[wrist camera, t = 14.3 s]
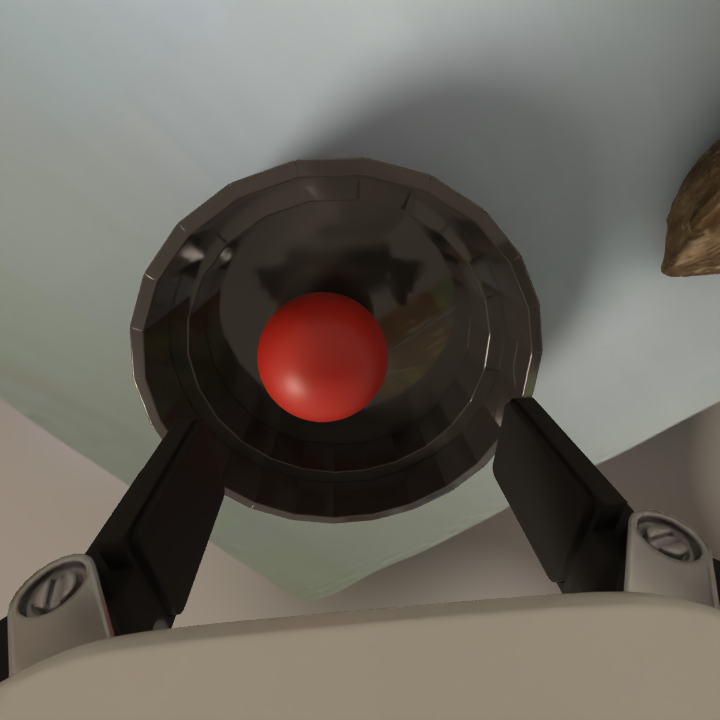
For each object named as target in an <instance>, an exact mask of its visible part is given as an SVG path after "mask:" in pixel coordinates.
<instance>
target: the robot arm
mask: <svg viewBox="0 0 720 720" xmlns="http://www.w3.org/2000/svg"><path fill="white" fill-rule="evenodd" d="M493 473H494V476H495V478H496V480H497V482H498V484H499V486H500V488H501V490H502V492H503V493H504V495H505V497H506V499H507V501H508V503H509V505H510V507H511V508H512V510H513V512H514V514H515V516H516V518H517V520H518V522H519V523H520V525H521V527H522V529H523V531H524V533H525V534H526V537H527V538H528V540H529V542H530V544H531V546H532V548H533V550H534V552H535V553H536V555H537V557H538V559H539V561H540V563H541V564H542V567H543V568H544V570H545V572H546V574H547V576H548V577H549V579H550V580H551V581H552V582H557V584H558V586H559V588H560V590H561V592H562V593H563V594H553V595H538V596H524V597H512V598H499V599H487V600H475V601H463V602H450V603H438V604H428V605H427V604H426V605H415V606H403V607H391V608H381V609H369V610H357V611H346V612H335V613H323V614H312V615H301V616H291V617H279V618H269V619H258V620H247V621H237V622H226V623H216V624H206V625H197V626H188V627H179V628H172V625H173V622H174V619H175V617H176V615H178V614H181V613H182V611H183V610H184V607H185V605H186V602H187V599H188V596H189V594H190V591H191V588H192V585H193V582H194V580H195V577H196V574H197V571H198V568H199V565H200V563H201V560H202V557H203V554H204V551H205V549H206V546H207V543H208V540H209V537H210V534H211V532H212V529H213V526H214V523H215V520H216V517H217V515H218V512H219V509H220V506H221V503H222V501H223V498H224V493H225V486H224V482H223V479H222V476H221V473H220V469H219V466H218V463H217V460H216V456H215V453H214V450H213V447H212V443H211V440H210V437H209V434H208V430H207V427H206V425H205V423H200V421H199V420H198V419H196V418H195V419H180V420H176V421H175V422H174V423H173V425H172V426H171V428H170V429H169V431H168V432H167V434H166V435H165V437H164V438H163V440H162V441H161V443H160V444H159V446H158V447H157V449H156V450H155V452H154V453H153V455H152V456H151V458H150V459H149V461H148V462H147V464H146V465H145V467H144V468H143V469H142V470H141V472H140V473H139V474H138V476H137V477H136V479H135V480H134V482H133V483H132V485H131V486H130V488H129V489H128V491H127V492H126V494H125V495H124V497H123V498H122V500H121V501H120V503H119V504H118V506H117V507H116V509H115V510H114V512H113V513H112V515H111V516H110V518H109V519H108V520H107V522H106V523H105V525H104V527H103V528H102V529H101V531H100V532H99V534H98V535H97V537H96V538H95V540H94V542H93V543H92V544H91V546H90V547H89V549H88V550H87V552H86V553H85V554H72V555H68V556H65V557H61V558H59V559H57V560H55V561H53V562H51V563H49V564H47V565H46V566H44V567H43V568H41V569H40V570H38V571H37V572H36V573H34V574H33V575H32V576H31V577H30V578H29V579H28V580H26V582H25V583H24V584H23V585H22V586H21V587H20V588H19V590H18V591H17V592H16V593H15V595H14V597H13V599H12V600H11V602H10V604H9V609H8V614H7V616H6V617H5V618H3V619H2V620H0V720H720V561H719V560H716V559H714V558H712V554H711V551H710V549H709V546H708V545H707V544H706V542H705V541H704V539H703V538H702V537H701V536H700V535H699V534H698V533H697V532H696V531H695V530H693V529H692V528H691V527H689V526H688V525H687V524H685V523H684V522H682V521H680V520H679V519H677V518H675V517H672V516H670V515H668V514H665V513H662V512H659V511H655V510H646V509H644V510H638V511H635V512H634V511H633V510H632V509H631V508H630V506H629V505H628V504H627V501H626V500H625V499H624V498H623V497H622V496H621V494H620V493H619V492H618V491H617V490H616V489H615V488H614V487H613V486H612V485H611V483H610V482H609V481H608V480H607V479H606V478H605V477H604V476H603V475H602V473H601V472H600V471H599V470H598V469H597V468H596V467H595V466H594V465H593V463H592V462H591V461H590V460H589V459H588V458H587V457H586V456H585V455H584V453H583V452H582V451H581V450H580V449H579V448H578V447H577V446H576V445H575V444H574V442H573V441H572V440H571V439H570V438H569V437H568V436H567V435H566V434H565V432H564V431H563V430H562V429H561V428H560V427H559V426H558V425H557V424H556V422H555V421H554V420H553V419H552V418H551V417H550V416H549V415H548V414H547V412H546V411H545V410H544V409H543V408H542V407H541V406H540V405H539V404H538V403H537V401H536V400H535V399H534V398H532V397H522V398H512V399H511V400H510V403H506V405H505V407H504V412H503V417H502V422H501V427H500V432H499V437H498V442H497V447H496V452H495V457H494V462H493Z"/></svg>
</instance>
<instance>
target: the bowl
mask: <svg viewBox="0 0 720 720" xmlns="http://www.w3.org/2000/svg"><path fill="white" fill-rule="evenodd" d="M314 292H331V293H336V294H341V295H344V296H347V297H349V298H351V299H353V300H355V301H357V302H358V303H360V304H361V305H363V306H364V307H365V308H366V309H367V310H368V311H369V312H370V313H371V314H372V315H373V316H374V317H375V319H376V320H377V322H378V323H379V325H380V327H381V329H382V331H383V334H384V336H385V339H386V344H387V348H388V366H387V371H386V375H385V378H384V381H383V383H382V385H381V387H380V389H379V391H378V392H377V394H376V395H375V397H374V398H373V399H372V400H371V401H370V402H369V403H368V404H367V405H366V406H365V407H364V408H363V409H361V410H360V411H358V412H357V413H355V414H353V415H351V416H349V417H347V418H344V419H340V420H337V421H331V422H315V421H308V420H305V419H301V418H299V417H296V416H294V415H292V414H290V413H288V412H287V411H285V410H284V409H283V408H281V407H280V406H279V405H278V404H277V403H276V402H275V401H274V400H273V399H272V398H271V396H270V395H269V393H268V392H267V390H266V389H265V387H264V385H263V383H262V380H261V378H260V374H259V371H258V364H257V351H258V344H259V340H260V336H261V334H262V331H263V329H264V327H265V325H266V323H267V322H268V320H269V319H270V318H271V316H272V315H273V314H274V313H275V312H276V311H277V310H278V309H279V308H280V307H282V306H283V305H284V304H285V303H287V302H288V301H290V300H292V299H294V298H296V297H299V296H301V295H304V294H309V293H314ZM130 339H131V354H132V369H133V378H134V382H135V385H136V387H137V390H138V393H139V395H140V398H141V400H142V403H143V405H144V408H145V411H146V413H147V416H148V418H149V421H150V423H151V425H152V426H153V428H154V429H155V430H156V432H157V433H158V434H159V436H160V437H161V438H162V440H163V438H164V437H165V435H166V434H167V432H168V431H169V429H170V428H171V426H172V425H173V423H174V422H175V421H176V420H180V419H195V418H196V419H198V420H199V421H200V423H205V425H206V427H207V430H208V434H209V437H210V440H211V443H212V447H213V450H214V453H215V456H216V460H217V463H218V466H219V469H220V473H221V476H222V479H223V482H224V486H225V493H224V495H226V496H228V497H230V498H232V499H234V500H236V501H237V502H239V503H241V504H243V505H245V506H247V507H249V508H252V509H255V510H259V511H262V512H266V513H269V514H273V515H276V516H280V517H283V518H287V519H290V520H291V519H292V520H299V521H310V522H321V523H334V524H335V523H346V522H357V521H368V520H374V519H375V520H376V519H380V518H383V517H387V516H391V515H394V514H398V513H402V512H405V511H409V510H413V509H415V508H418V507H420V506H422V505H424V504H426V503H428V502H430V501H432V500H434V499H436V498H438V497H440V496H442V495H444V494H447V493H449V492H450V491H452V490H454V489H455V488H456V487H458V486H459V485H460V484H462V483H463V482H464V481H466V480H467V479H468V478H470V477H471V476H472V475H474V474H475V473H476V472H478V471H479V470H480V469H482V468H483V467H484V466H485V465H486V464H487V463H488V462H489V461H490V459H491V458H492V457H493V456H494V455H495V452H496V447H497V442H498V437H499V432H500V427H501V422H502V417H503V412H504V407H505V405H506V403H510V400H511V399H512V398H522V397H532V395H533V391H534V387H535V383H536V378H537V374H538V369H539V365H540V361H541V356H542V351H543V350H542V333H541V317H540V304H539V301H538V298H537V295H536V293H535V290H534V288H533V285H532V282H531V280H530V277H529V275H528V272H527V269H526V267H525V264H524V262H523V259H522V256H521V255H520V253H519V252H518V250H517V249H516V248H515V247H514V245H513V244H512V243H511V242H510V240H509V239H508V238H507V237H506V236H505V234H504V233H503V232H502V231H501V229H500V228H499V227H498V226H497V224H496V223H495V222H494V221H493V220H492V218H491V217H490V216H489V215H488V213H487V212H486V211H484V209H483V208H481V207H480V206H478V205H476V204H475V203H473V202H472V201H470V200H469V199H467V198H466V197H464V196H463V195H461V194H459V193H458V192H456V191H455V190H453V189H452V188H450V187H449V186H447V185H446V184H444V183H443V182H441V181H439V180H438V179H436V178H435V177H433V176H430V175H428V174H425V173H421V172H417V171H414V170H410V169H407V168H403V167H399V166H396V165H392V164H388V163H385V162H381V161H377V160H374V159H370V158H364V157H362V158H333V159H305V160H296V161H291V162H288V163H285V164H282V165H279V166H277V167H274V168H271V169H268V170H265V171H263V172H260V173H257V174H254V175H251V176H248V177H246V178H243V179H240V180H237V181H234V182H232V183H231V184H228V185H227V186H225V187H224V188H223V189H221V190H220V191H219V192H217V193H216V194H215V195H214V196H212V197H211V198H210V199H208V200H207V201H206V202H204V203H203V204H202V205H201V206H199V207H198V208H197V209H195V210H194V211H193V212H191V213H190V214H189V215H188V216H186V217H185V218H184V219H182V220H181V221H180V222H179V223H178V224H177V225H176V226H175V228H174V229H173V231H172V232H171V234H170V235H169V237H168V238H167V240H166V241H165V243H164V244H163V246H162V247H161V249H160V250H159V252H158V253H157V255H156V256H155V258H154V259H153V261H152V262H151V264H150V265H149V267H148V268H147V270H146V271H145V274H144V275H143V279H142V283H141V287H140V290H139V294H138V298H137V302H136V305H135V309H134V313H133V317H132V321H131V324H130Z"/></svg>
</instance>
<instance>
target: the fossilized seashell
mask: <svg viewBox="0 0 720 720" xmlns="http://www.w3.org/2000/svg"><path fill="white" fill-rule="evenodd" d="M661 272H662V273H664V274H665V275H667V276H671V277H680V276H682V277H687V276H698V275H709V274H720V140H719V141H718V142H717V143H715V144H714V145H713V146H712V147H711V148H710V149H709V150H708V151H707V152H706V153H705V154H704V155H703V156H702V157H701V158H700V159H699V160H698V161H697V163H696V164H695V165H694V167H693V168H692V170H691V171H690V172H689V174H688V175H687V176H686V178H685V180H684V182H683V183H682V185H681V187H680V189H679V192H678V194H677V196H676V198H675V200H674V201H673V203H672V207H671V211H670V213H669V215H668V217H667V234H666V245H665V254H664V260H663V263H662V266H661Z"/></svg>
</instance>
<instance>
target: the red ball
mask: <svg viewBox="0 0 720 720" xmlns="http://www.w3.org/2000/svg"><path fill="white" fill-rule="evenodd" d="M257 364H258V371H259V374H260V378H261V380H262V383H263V385H264V387H265V389H266V390H267V392H268V393H269V395H270V396H271V398H272V399H273V400H274V401H275V402H276V403H277V404H278V405H279V406H280V407H281V408H283V409H284V410H285V411H287V412H288V413H290V414H292V415H294V416H296V417H299V418H301V419H305V420H308V421H315V422H331V421H337V420H340V419H344V418H347V417H349V416H351V415H353V414H355V413H357V412H358V411H360V410H361V409H363V408H364V407H365V406H366V405H367V404H368V403H369V402H370V401H371V400H372V399H373V398H374V397H375V395H376V394H377V392H378V391H379V389H380V387H381V385H382V383H383V381H384V378H385V375H386V371H387V366H388V348H387V344H386V339H385V336H384V334H383V331H382V329H381V327H380V325H379V323H378V322H377V320H376V319H375V317H374V316H373V315H372V314H371V313H370V312H369V311H368V310H367V309H366V308H365V307H364V306H363V305H361V304H360V303H358V302H357V301H355V300H353V299H351V298H349V297H347V296H344V295H341V294H336V293H331V292H314V293H309V294H304V295H301V296H299V297H296V298H294V299H292V300H290V301H288V302H287V303H285V304H284V305H283V306H282V307H280V308H279V309H278V310H277V311H276V312H275V313H274V314H273V315H272V316H271V318H270V319H269V320H268V322H267V323H266V325H265V327H264V329H263V331H262V334H261V336H260V340H259V344H258V351H257Z"/></svg>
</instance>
